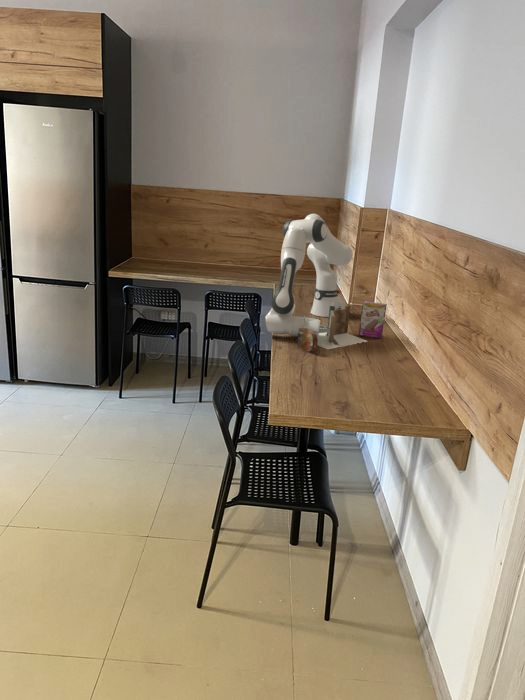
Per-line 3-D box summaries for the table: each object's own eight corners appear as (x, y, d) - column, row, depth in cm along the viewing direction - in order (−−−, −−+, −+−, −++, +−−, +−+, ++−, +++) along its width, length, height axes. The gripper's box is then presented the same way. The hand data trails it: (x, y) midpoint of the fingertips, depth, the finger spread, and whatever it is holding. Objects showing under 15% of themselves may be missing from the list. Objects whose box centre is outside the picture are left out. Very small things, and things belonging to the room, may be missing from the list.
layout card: (337, 330, 263) (337, 329, 263) (367, 341, 248) (367, 340, 248) (297, 337, 248) (297, 336, 248) (327, 349, 233) (327, 348, 233)
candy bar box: (358, 335, 256) (362, 302, 251) (359, 333, 261) (363, 300, 256) (381, 339, 254) (386, 305, 249) (382, 336, 258) (387, 303, 253)
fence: (344, 331, 261) (347, 303, 256) (348, 332, 259) (351, 304, 254) (325, 334, 253) (328, 306, 249) (329, 336, 251) (332, 307, 247)
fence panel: (327, 334, 251) (330, 309, 247) (331, 335, 251) (334, 309, 247) (328, 343, 238) (331, 316, 234) (333, 343, 238) (336, 317, 234)
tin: (296, 343, 239) (298, 325, 236) (302, 343, 240) (304, 325, 237) (311, 354, 225) (312, 335, 223) (317, 354, 227) (319, 335, 224)
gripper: (298, 325, 233) (329, 329, 231) (302, 314, 252) (331, 317, 250) (296, 339, 235) (328, 343, 233) (300, 327, 254) (329, 330, 252)
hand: (329, 330), depth 242 cm, fingers closed
